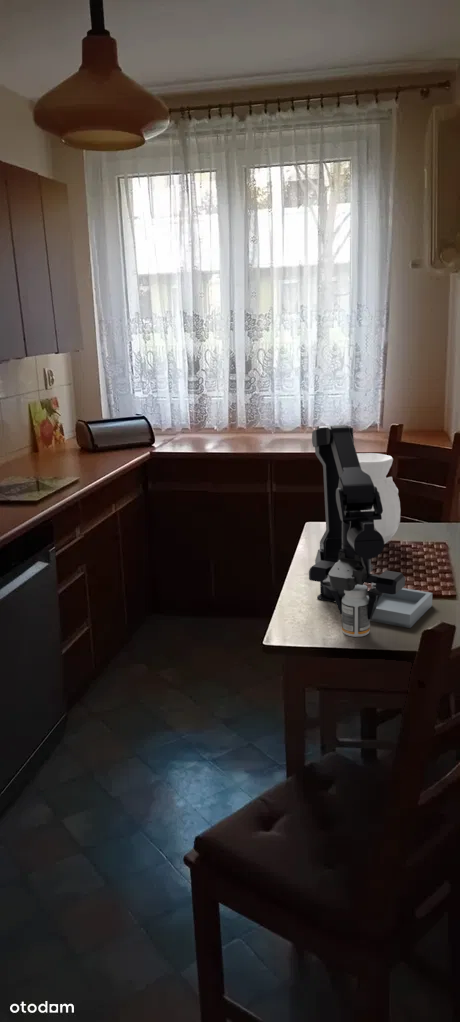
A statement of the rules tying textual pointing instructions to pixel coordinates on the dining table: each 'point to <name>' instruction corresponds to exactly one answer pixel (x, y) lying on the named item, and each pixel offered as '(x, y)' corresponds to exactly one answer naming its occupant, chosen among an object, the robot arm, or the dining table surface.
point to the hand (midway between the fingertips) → (355, 616)
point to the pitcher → (383, 492)
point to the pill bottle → (355, 612)
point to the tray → (402, 607)
